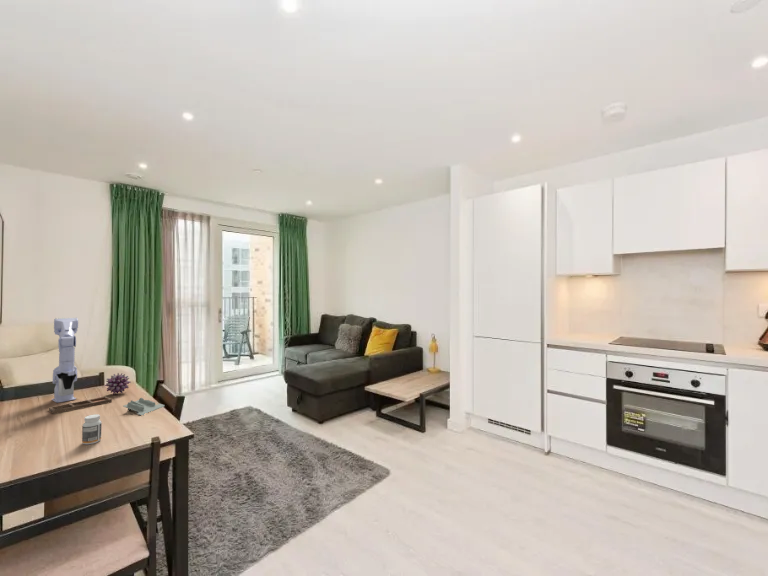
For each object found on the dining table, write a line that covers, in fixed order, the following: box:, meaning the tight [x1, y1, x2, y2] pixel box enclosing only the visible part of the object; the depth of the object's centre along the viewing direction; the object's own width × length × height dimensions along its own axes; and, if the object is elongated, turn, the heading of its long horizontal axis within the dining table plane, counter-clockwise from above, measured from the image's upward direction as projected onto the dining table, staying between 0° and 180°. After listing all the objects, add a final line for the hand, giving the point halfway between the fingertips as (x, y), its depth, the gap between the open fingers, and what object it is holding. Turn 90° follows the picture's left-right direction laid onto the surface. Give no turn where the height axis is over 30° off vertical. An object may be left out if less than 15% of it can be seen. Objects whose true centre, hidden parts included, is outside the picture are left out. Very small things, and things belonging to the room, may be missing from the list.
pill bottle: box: [81, 413, 103, 445], centre depth 137 cm, size 6×6×10 cm
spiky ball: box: [104, 372, 132, 395], centre depth 202 cm, size 12×12×12 cm
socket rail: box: [48, 396, 112, 415], centre depth 180 cm, size 8×23×2 cm, turn 146°
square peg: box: [58, 378, 75, 396], centre depth 175 cm, size 5×5×8 cm
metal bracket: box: [122, 397, 165, 416], centre depth 175 cm, size 14×6×15 cm
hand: (66, 388), depth 175 cm, fingers closed on square peg, 5 cm apart
